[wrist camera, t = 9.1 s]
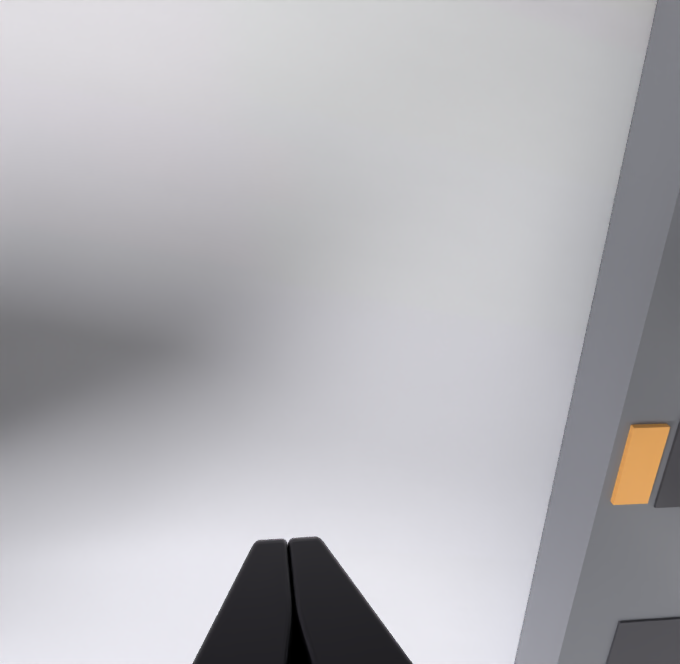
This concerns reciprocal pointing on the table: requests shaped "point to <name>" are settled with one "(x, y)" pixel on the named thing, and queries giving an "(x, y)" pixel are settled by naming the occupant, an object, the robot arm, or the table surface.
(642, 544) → the three-peg stand
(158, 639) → the table surface
